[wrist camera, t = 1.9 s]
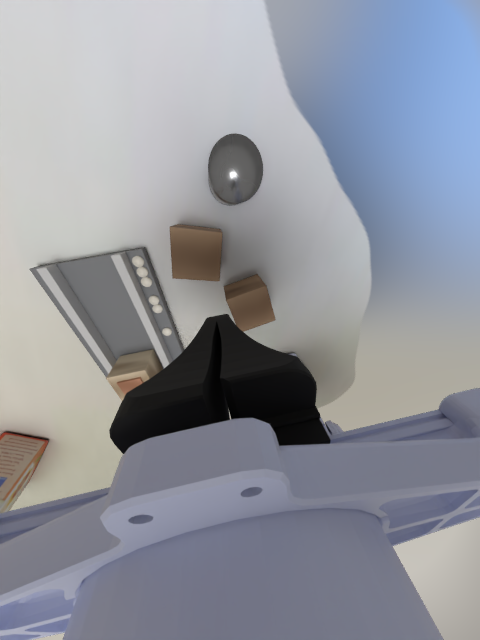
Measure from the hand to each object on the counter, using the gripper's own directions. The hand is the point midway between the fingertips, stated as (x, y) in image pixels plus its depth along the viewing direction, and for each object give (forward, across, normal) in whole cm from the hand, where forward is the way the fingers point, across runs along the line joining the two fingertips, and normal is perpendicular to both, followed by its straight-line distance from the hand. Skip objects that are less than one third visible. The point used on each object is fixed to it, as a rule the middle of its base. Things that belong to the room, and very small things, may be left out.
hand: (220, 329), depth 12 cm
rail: (+10, +11, +4) cm, 16 cm away
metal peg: (+10, -3, -8) cm, 14 cm away
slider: (+9, +11, +9) cm, 17 cm away
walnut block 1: (+11, +1, -3) cm, 11 cm away
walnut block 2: (+10, -3, +3) cm, 11 cm away
